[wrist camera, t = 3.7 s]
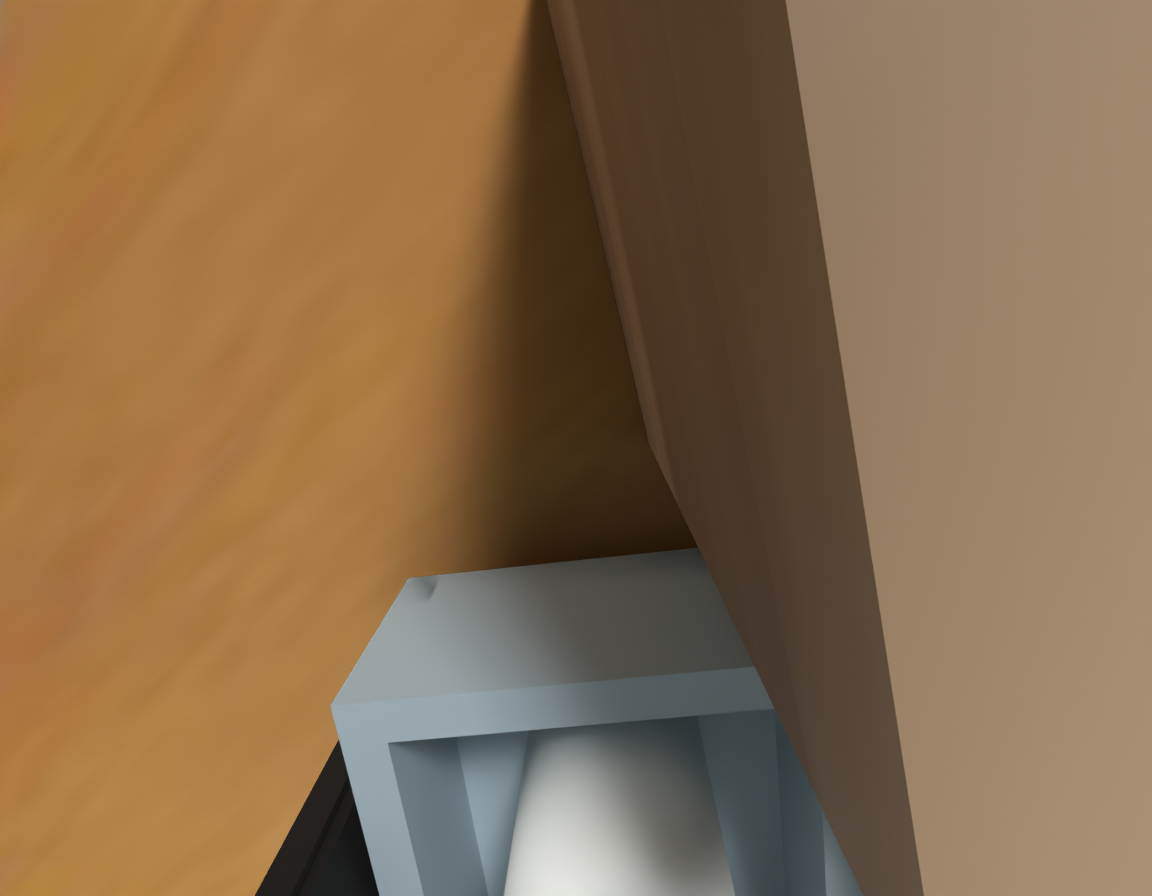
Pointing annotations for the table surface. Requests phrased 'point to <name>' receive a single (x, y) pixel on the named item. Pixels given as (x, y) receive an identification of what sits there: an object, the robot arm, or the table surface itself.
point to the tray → (558, 681)
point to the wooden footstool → (905, 397)
